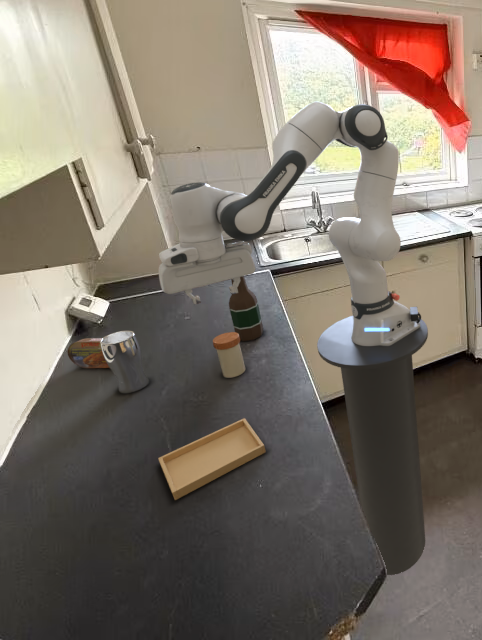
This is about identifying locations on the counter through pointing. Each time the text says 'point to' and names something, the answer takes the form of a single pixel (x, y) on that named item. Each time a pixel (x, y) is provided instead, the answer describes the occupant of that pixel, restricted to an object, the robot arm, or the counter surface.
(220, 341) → the lid
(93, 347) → the tin
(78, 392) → the counter surface
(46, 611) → the counter surface
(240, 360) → the jar
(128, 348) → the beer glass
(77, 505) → the counter surface
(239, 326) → the beer bottle
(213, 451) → the tray
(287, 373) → the counter surface
